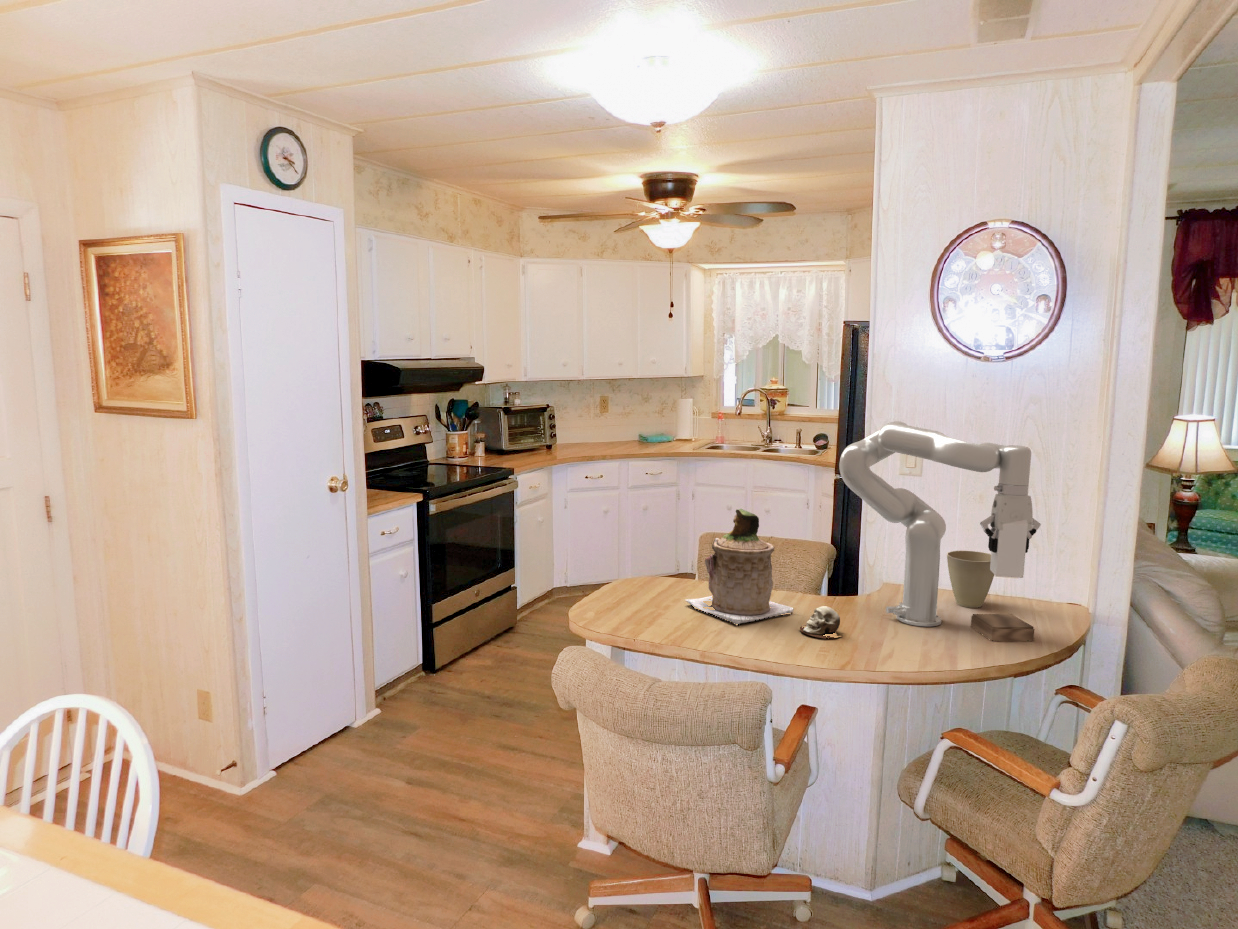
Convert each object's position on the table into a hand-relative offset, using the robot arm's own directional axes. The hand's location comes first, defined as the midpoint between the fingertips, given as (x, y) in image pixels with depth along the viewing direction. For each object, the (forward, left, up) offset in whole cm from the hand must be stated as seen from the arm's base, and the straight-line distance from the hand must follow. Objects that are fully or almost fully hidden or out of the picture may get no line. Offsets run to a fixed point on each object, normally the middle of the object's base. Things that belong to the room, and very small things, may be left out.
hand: (1008, 551), depth 231 cm
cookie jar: (-71, +22, -24) cm, 78 cm away
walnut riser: (0, 0, -24) cm, 24 cm away
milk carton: (0, 0, -7) cm, 7 cm away
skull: (-52, +1, -24) cm, 57 cm away
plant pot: (+4, +28, -24) cm, 37 cm away
